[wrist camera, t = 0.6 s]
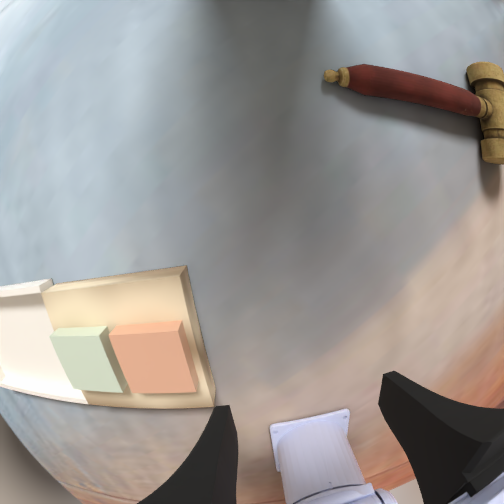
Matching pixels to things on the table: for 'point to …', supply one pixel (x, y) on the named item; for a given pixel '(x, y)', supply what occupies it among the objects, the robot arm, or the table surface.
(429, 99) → the gavel
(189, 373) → the terracotta tile
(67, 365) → the sage tile
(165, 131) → the table surface
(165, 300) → the maple board
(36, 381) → the tray
